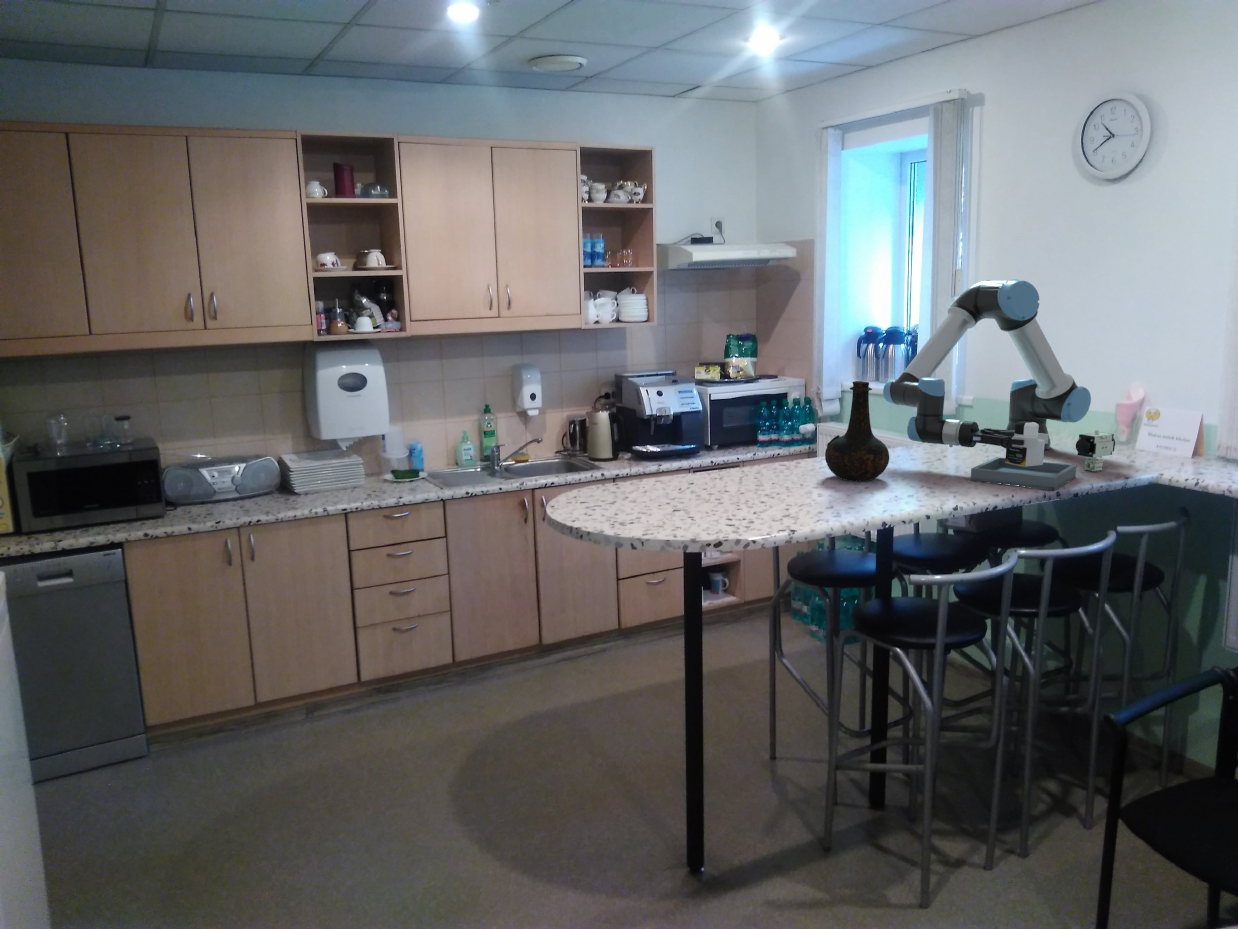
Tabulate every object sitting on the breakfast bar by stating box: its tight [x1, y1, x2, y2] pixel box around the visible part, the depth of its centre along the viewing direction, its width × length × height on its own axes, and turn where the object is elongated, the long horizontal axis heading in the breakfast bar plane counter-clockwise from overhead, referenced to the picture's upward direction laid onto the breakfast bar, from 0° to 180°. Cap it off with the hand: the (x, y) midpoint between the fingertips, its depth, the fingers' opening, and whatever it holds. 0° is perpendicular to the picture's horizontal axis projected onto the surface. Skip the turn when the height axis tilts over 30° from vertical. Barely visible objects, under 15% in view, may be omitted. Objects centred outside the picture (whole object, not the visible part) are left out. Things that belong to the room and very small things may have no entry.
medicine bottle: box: [1004, 421, 1045, 467], centre depth 257 cm, size 7×7×12 cm
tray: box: [970, 456, 1077, 492], centre depth 258 cm, size 22×22×4 cm
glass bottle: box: [824, 380, 890, 482], centre depth 260 cm, size 18×18×28 cm
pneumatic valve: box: [1075, 429, 1116, 473], centre depth 267 cm, size 6×12×12 cm, turn 117°
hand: (1042, 441), depth 254 cm, fingers closed on medicine bottle, 9 cm apart
